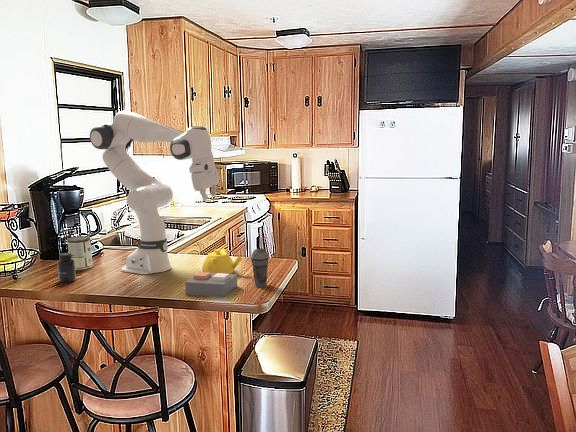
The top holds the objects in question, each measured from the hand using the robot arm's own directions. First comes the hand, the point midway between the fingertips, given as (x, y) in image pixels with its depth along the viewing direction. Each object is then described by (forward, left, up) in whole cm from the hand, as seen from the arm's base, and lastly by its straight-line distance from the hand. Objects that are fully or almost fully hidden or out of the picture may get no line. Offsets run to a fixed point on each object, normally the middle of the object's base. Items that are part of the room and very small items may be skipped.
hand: (209, 197), depth 220 cm
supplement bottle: (-60, -18, -35) cm, 72 cm away
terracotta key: (+3, -17, -31) cm, 35 cm away
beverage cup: (+24, -7, -35) cm, 43 cm away
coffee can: (-69, +3, -35) cm, 78 cm away
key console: (+7, -17, -35) cm, 39 cm away
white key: (+11, -17, -31) cm, 37 cm away
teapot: (+2, +6, -35) cm, 36 cm away
